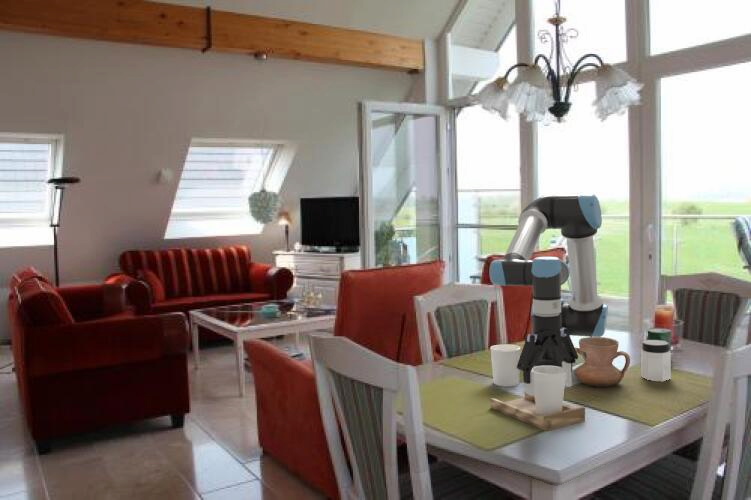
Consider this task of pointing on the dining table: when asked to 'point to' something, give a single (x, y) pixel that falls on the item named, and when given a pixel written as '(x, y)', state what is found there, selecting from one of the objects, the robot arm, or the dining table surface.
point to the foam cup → (549, 389)
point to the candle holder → (505, 364)
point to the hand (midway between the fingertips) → (548, 389)
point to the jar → (655, 360)
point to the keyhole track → (528, 413)
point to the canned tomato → (660, 335)
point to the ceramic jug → (600, 362)
